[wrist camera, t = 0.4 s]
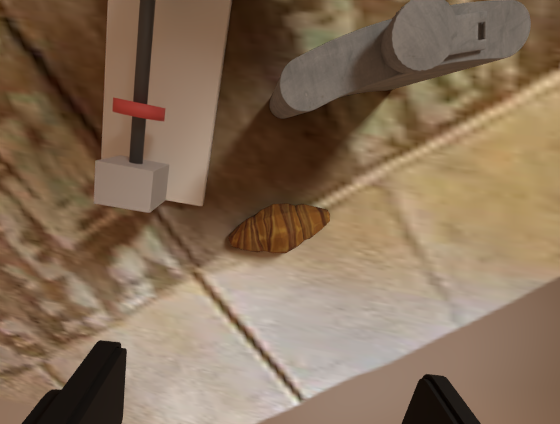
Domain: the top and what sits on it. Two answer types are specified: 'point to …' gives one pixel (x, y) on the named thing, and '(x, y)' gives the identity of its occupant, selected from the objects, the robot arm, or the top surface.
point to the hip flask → (402, 52)
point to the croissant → (279, 228)
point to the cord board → (160, 101)
